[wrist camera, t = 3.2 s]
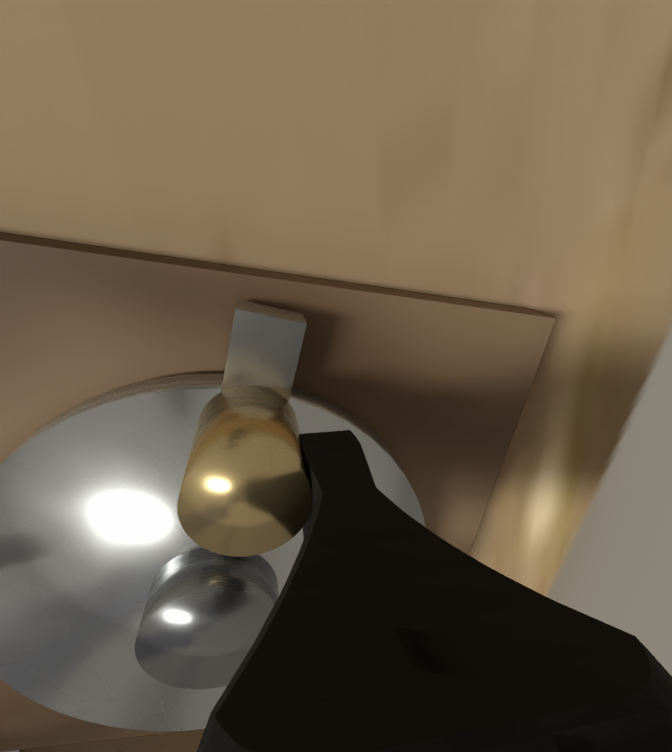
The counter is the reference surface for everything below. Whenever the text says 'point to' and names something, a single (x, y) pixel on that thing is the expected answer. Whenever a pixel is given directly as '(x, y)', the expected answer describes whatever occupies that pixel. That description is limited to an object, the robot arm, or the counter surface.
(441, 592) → the robot arm
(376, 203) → the counter surface
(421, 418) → the walnut board
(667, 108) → the counter surface
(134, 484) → the flange plate
